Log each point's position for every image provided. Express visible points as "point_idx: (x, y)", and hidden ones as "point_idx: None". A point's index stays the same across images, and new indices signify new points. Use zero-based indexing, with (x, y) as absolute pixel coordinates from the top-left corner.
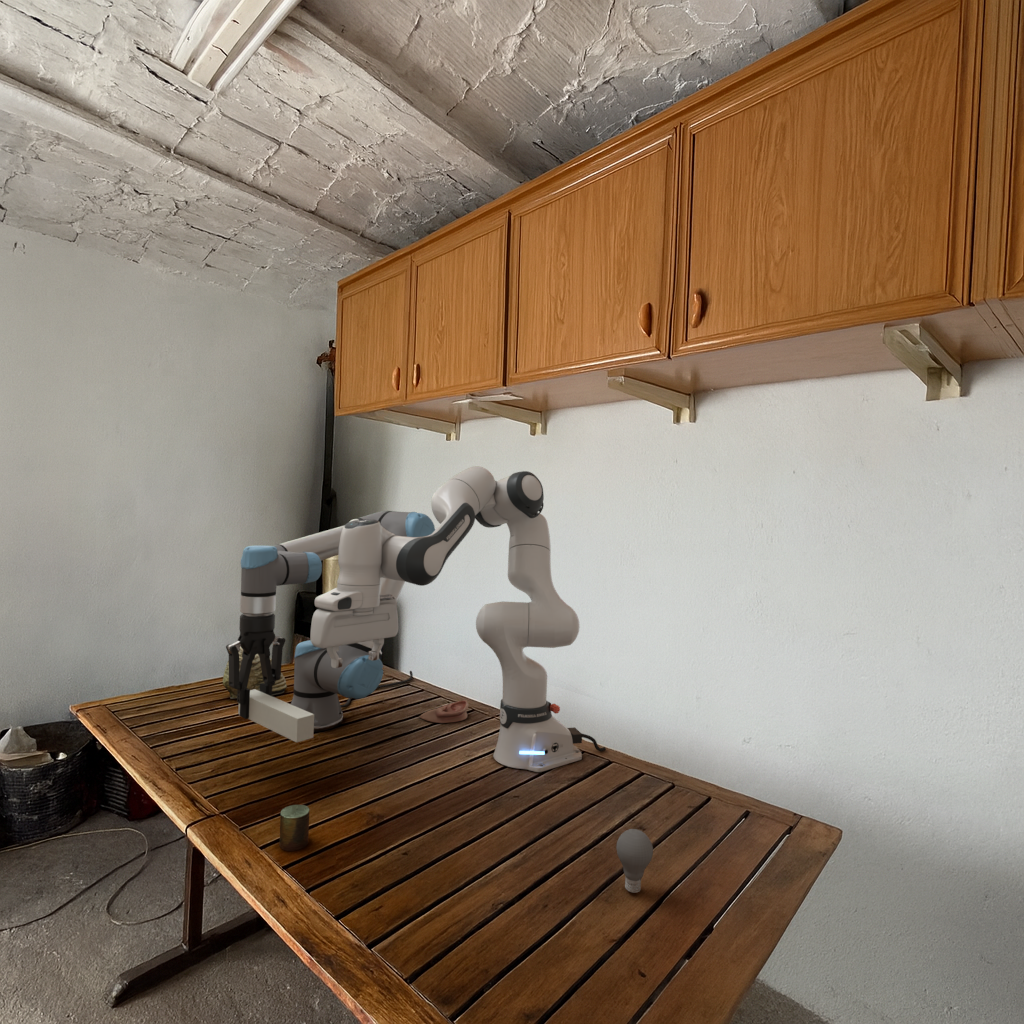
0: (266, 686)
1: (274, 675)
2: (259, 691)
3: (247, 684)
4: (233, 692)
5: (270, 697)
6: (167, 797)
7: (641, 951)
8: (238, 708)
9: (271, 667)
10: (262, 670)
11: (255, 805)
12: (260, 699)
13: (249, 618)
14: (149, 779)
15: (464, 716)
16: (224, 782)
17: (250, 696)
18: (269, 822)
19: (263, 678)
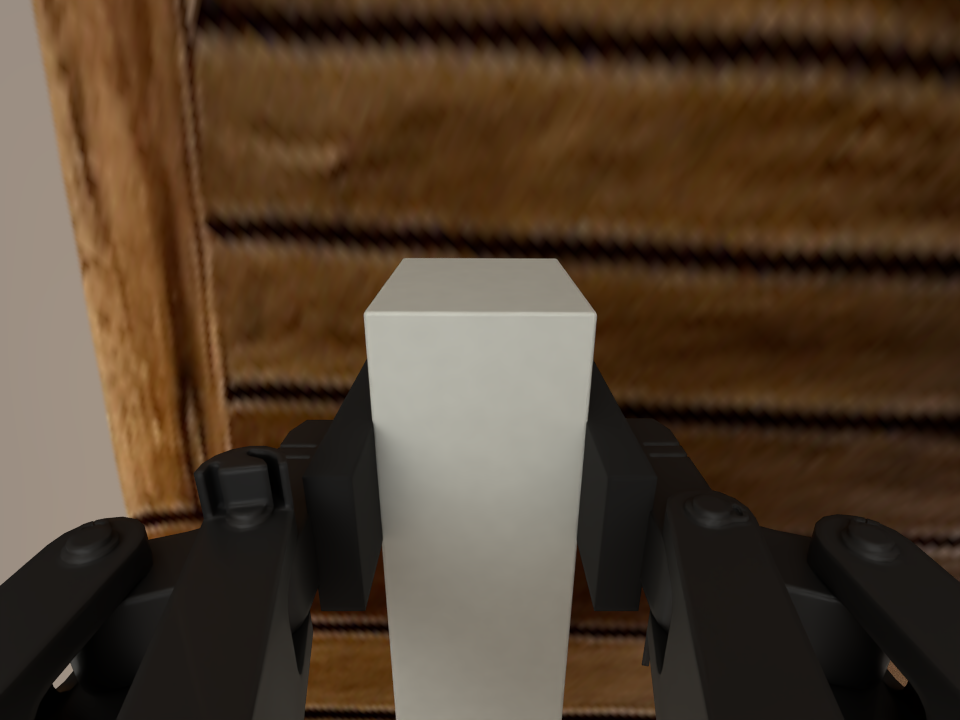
0: (598, 603)
1: (821, 662)
2: (574, 434)
3: (306, 674)
4: None
5: (535, 654)
6: (106, 293)
7: None
8: (396, 270)
9: (954, 711)
10: (691, 703)
11: None
12: (434, 644)
13: None
14: (60, 39)
15: None
16: (332, 323)
17: (403, 521)
18: (330, 643)
19: (670, 550)
